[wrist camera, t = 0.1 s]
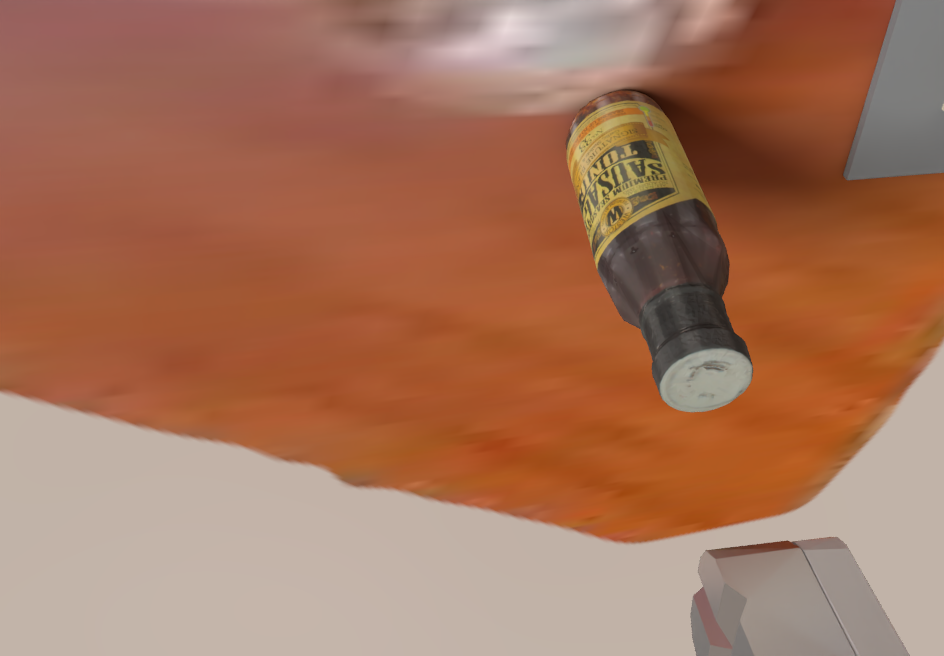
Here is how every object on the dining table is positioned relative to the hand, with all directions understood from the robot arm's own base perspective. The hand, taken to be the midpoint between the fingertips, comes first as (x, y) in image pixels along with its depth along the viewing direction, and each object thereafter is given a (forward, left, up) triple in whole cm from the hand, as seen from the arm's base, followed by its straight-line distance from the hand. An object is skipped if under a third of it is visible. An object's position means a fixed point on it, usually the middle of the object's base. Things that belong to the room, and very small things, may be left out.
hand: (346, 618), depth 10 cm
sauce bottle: (+17, +13, -39) cm, 44 cm away
